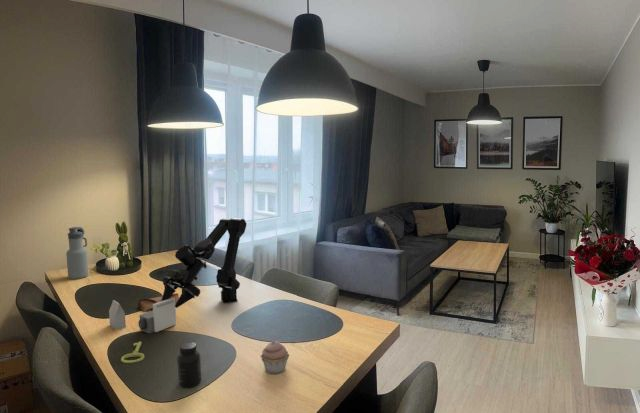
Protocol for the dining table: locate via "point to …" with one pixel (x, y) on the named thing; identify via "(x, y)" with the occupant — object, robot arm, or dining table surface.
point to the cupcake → (274, 357)
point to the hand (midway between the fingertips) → (168, 304)
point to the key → (134, 354)
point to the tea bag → (117, 316)
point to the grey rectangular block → (146, 322)
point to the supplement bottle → (189, 366)
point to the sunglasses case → (153, 302)
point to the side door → (164, 314)
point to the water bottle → (77, 254)
